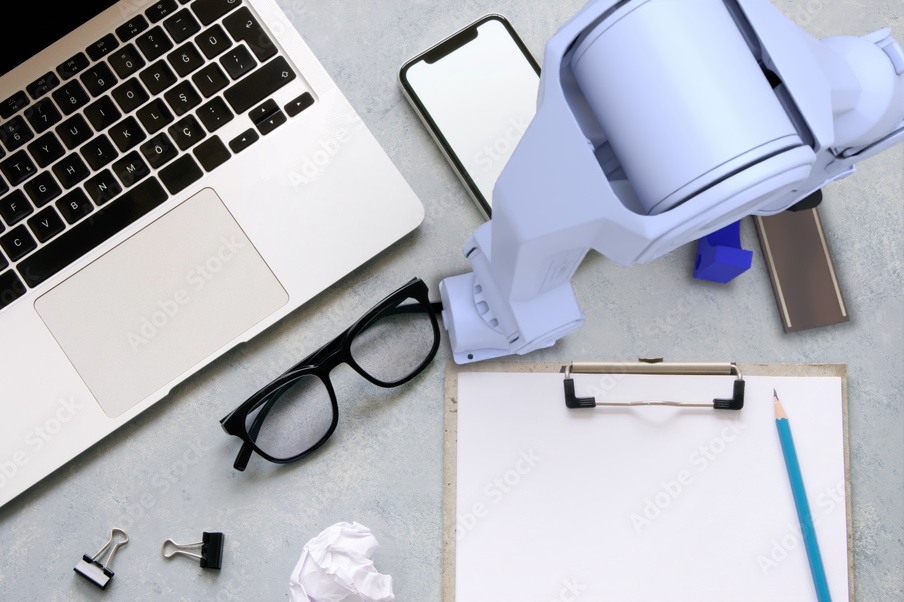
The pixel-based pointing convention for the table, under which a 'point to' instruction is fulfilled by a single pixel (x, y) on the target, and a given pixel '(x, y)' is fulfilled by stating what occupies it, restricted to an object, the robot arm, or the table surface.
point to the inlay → (801, 269)
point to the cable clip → (722, 255)
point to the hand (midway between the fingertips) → (719, 211)
